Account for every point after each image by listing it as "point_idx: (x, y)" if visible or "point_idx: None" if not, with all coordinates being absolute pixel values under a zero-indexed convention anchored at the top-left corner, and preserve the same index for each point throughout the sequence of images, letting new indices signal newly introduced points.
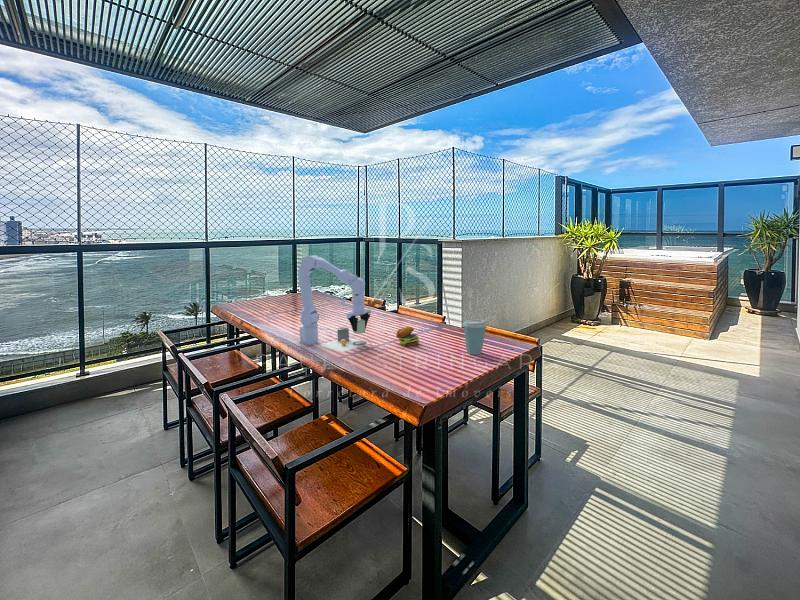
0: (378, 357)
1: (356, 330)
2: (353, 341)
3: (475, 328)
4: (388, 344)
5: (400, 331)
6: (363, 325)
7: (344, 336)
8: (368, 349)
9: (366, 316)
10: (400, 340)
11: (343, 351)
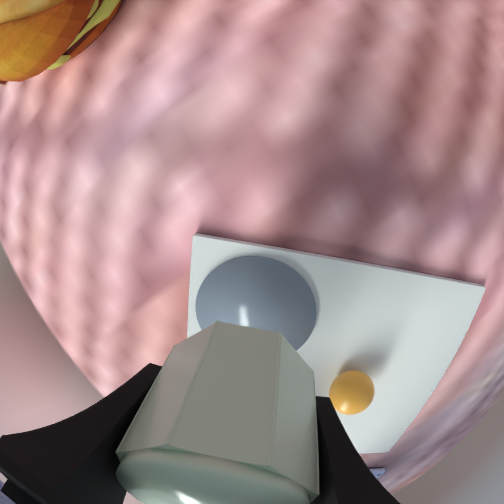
0: (447, 10)
1: (321, 402)
2: None
3: None
4: (133, 100)
5: (33, 7)
6: (224, 403)
7: None
8: (346, 157)
9: (66, 492)
10: (96, 11)
11: (474, 289)
